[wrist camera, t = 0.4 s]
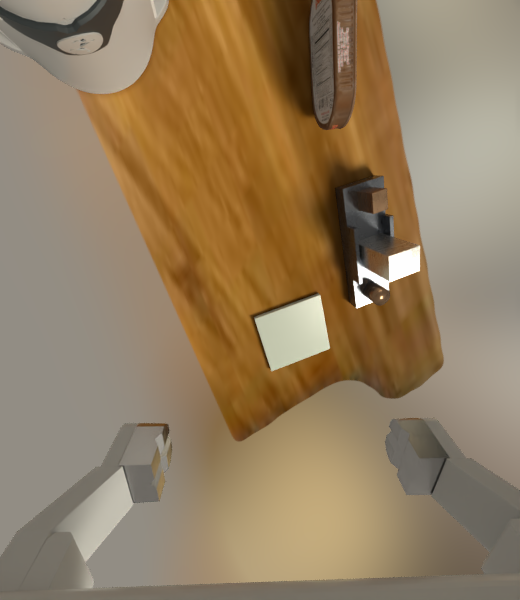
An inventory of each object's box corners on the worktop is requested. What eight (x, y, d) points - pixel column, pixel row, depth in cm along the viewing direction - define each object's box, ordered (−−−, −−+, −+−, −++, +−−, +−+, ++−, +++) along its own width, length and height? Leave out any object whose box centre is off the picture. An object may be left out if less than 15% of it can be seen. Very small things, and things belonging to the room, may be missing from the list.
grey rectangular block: (354, 242, 48) (388, 256, 40) (380, 233, 48) (419, 245, 40) (356, 263, 50) (389, 281, 42) (382, 254, 50) (419, 270, 42)
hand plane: (335, 188, 46) (357, 191, 40) (373, 175, 46) (400, 176, 41) (349, 302, 56) (368, 318, 50) (381, 290, 57) (403, 304, 51)
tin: (329, 131, 42) (361, 123, 35) (309, 134, 42) (337, 127, 34) (325, -7, 35) (363, -54, 28) (301, -6, 35) (333, -53, 27)
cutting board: (253, 317, 52) (254, 319, 51) (318, 293, 53) (320, 295, 52) (270, 368, 58) (271, 371, 57) (328, 346, 59) (329, 348, 59)
